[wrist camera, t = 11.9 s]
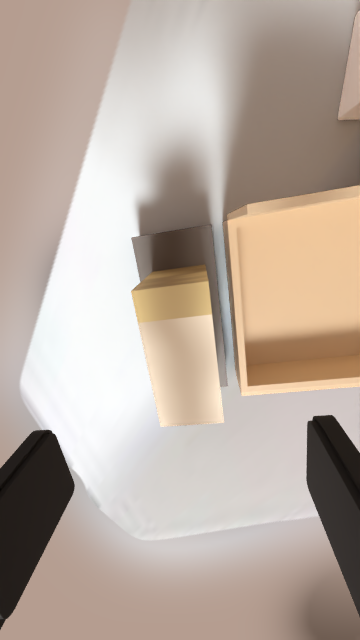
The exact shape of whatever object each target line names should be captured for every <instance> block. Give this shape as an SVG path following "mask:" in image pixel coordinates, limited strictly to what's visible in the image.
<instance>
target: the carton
mask: <svg viewBox="0 0 360 640" xmlns="http://www.w3.org/2000/svg"><path fill="white" fill-rule="evenodd" d="M223 233H224V244H225V256H226V267H227V278H228V290H229V301H230V313H231V324H232V335H233V347H234V358H235V370H236V376H237V380H238V383H239V387H240V391H241V395H242V396H247V395H260V394H272V393H284V392H297V391H309V390H322V389H334V388H347V387H359V386H360V185H358V186H352V187H346V188H340V189H334V190H328V191H322V192H316V193H310V194H305V195H299V196H293V197H287V198H281V199H275V200H269V201H263V202H257V203H251V204H247V205H245V206H243V207H241V208H239V209H237V210H235V211H233V212H231V213H229V214H227V221H224V222H223Z"/></svg>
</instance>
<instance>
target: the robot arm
mask: <svg viewBox="0 0 360 640" xmlns="http://www.w3.org/2000/svg"><path fill="white" fill-rule="evenodd" d="M307 485H308V489H309V491H310V494H311V497H312V499H313V502H314V504H315V506H316V509H317V511H318V514H319V516H320V518H321V521H322V524H323V526H324V529H325V531H326V534H327V536H328V539H329V541H330V544H331V546H332V549H333V551H334V554H335V556H336V559H337V561H338V564H339V566H340V569H341V571H342V574H343V576H344V579H345V581H346V584H347V586H348V588H349V591H350V594H351V596H352V599H353V601H354V603H355V606H356V609H357V611H358V614H359V616H360V453H359V451H358V450H357V449H356V447H355V446H354V444H353V443H352V441H351V440H350V439H349V437H348V436H347V434H346V433H345V431H344V430H343V428H342V427H341V426H340V424H339V423H338V421H337V420H336V418H335V417H334V416H332V415H326V416H314V417H313V420H312V421H308V424H307ZM73 491H74V481H73V479H72V476H71V474H70V471H69V468H68V466H67V463H66V460H65V458H64V455H63V453H62V450H61V448H60V445H59V443H58V440H57V437H56V435H55V434H53V433H52V431H50V430H37V431H33V432H32V433H31V434H30V435H29V436H28V437H27V438H26V440H25V441H24V442H23V443H22V444H21V445H20V446H19V448H18V449H17V450H16V451H15V452H14V454H13V455H12V456H11V457H10V458H9V459H8V460H7V462H6V463H5V464H4V465H3V466H2V467H1V468H0V629H1V627H2V625H3V623H4V622H5V620H6V619H7V618H8V617H9V616H10V615H11V614H12V613H13V611H14V609H15V607H16V605H17V603H18V601H19V599H20V597H21V595H22V593H23V591H24V590H25V587H26V586H27V584H28V582H29V580H30V577H31V576H32V573H33V572H34V570H35V567H36V566H37V564H38V562H39V560H40V558H41V556H42V554H43V552H44V550H45V548H46V546H47V544H48V542H49V540H50V538H51V536H52V534H53V532H54V530H55V528H56V526H57V524H58V522H59V520H60V518H61V516H62V514H63V512H64V510H65V508H66V507H67V504H68V503H69V501H70V499H71V497H72V495H73Z"/></svg>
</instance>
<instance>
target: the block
mask: <svg viewBox="0 0 360 640" xmlns="http://www.w3.org/2000/svg"><path fill="white" fill-rule="evenodd" d="M131 293H132V297H133V302H134V306H135V311H136V316H137V320H138V325H139V329H140V334H141V339H142V343H143V348H144V352H145V357H146V362H147V366H148V371H149V375H150V380H151V385H152V389H153V394H154V398H155V403H156V408H157V412H158V417H159V421H160V426H161V427H165V426H180V425H195V424H210V423H224V418H223V409H222V400H221V391H220V382H219V373H218V364H217V355H216V346H215V336H214V327H213V318H212V309H211V300H210V291H209V282H208V276H207V271H206V266H205V265H198V266H191V267H184V268H176V269H169V270H162V271H155V272H152V273H150V274H149V275H148V276H147V277H146V278H145V279H144V280H143V281H142V282H141V283H140V284H138V285H137V286H136V287H135V288H134V289H133V290H132V291H131Z"/></svg>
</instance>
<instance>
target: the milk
mask: <svg viewBox="0 0 360 640" xmlns="http://www.w3.org/2000/svg"><path fill="white" fill-rule="evenodd" d="M356 119H360V10H359V11H358V13H357V14H356V16H355V20H354V26H353V32H352V38H351V44H350V49H349V55H348V61H347V67H346V72H345V78H344V84H343V90H342V95H341V101H340V107H339V113H338V120H356Z"/></svg>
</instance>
